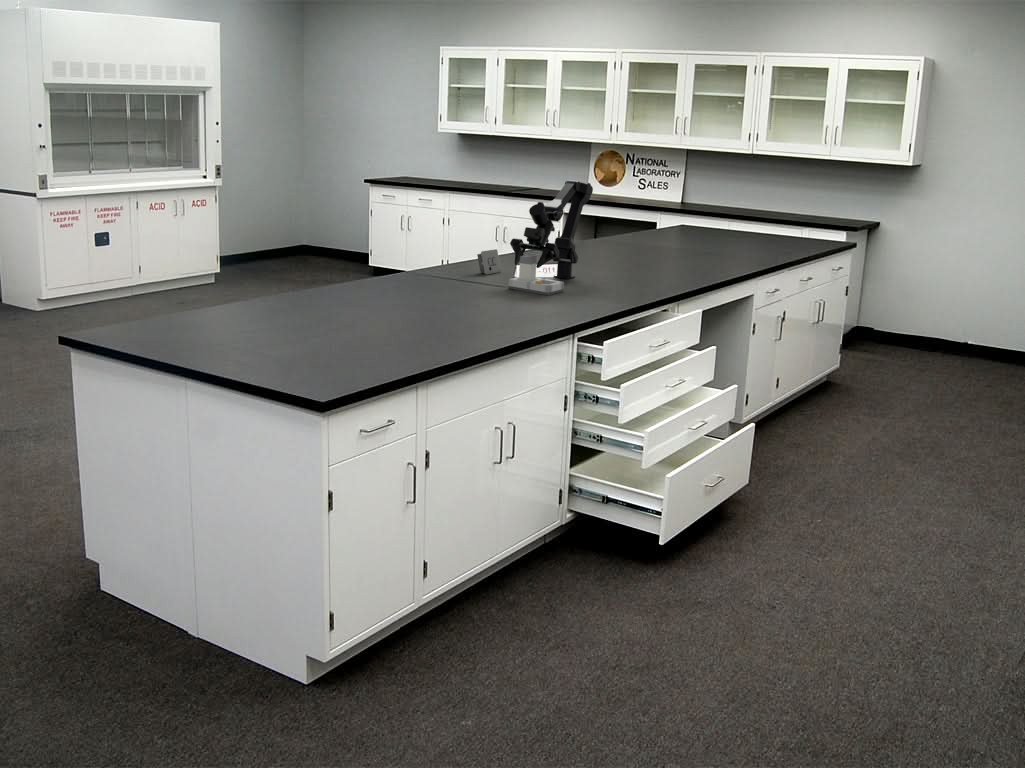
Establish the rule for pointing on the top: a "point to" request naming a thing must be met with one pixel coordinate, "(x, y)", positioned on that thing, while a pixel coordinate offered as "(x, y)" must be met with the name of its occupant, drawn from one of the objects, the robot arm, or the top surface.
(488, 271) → the electrical switch
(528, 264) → the grey tall block
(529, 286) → the white rectangular frame
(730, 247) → the top surface
